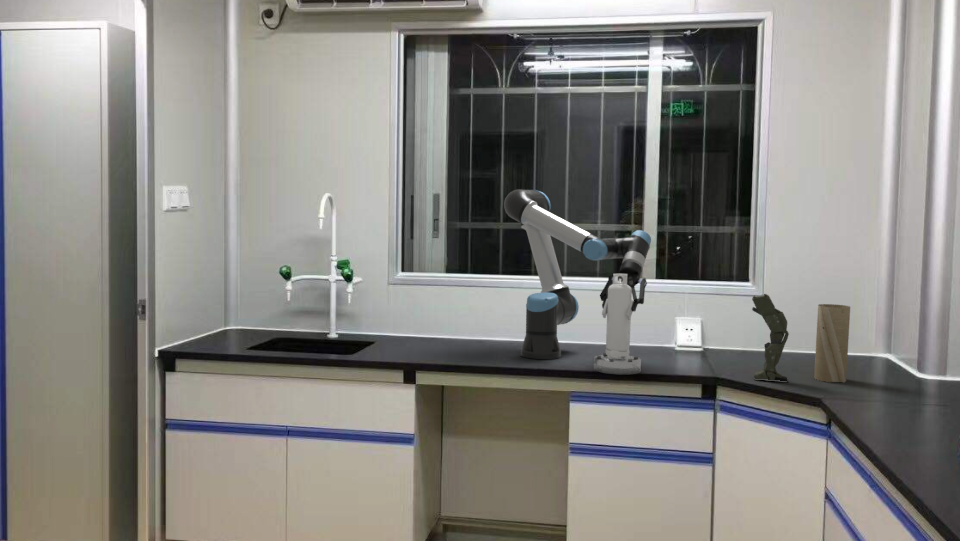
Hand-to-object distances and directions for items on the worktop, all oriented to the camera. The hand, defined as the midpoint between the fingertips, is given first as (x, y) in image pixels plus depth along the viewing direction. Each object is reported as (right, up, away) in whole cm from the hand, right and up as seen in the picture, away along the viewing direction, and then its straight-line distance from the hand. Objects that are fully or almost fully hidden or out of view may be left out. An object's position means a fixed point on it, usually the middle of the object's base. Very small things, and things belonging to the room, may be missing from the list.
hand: (615, 316), depth 286 cm
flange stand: (+1, -19, +4) cm, 19 cm away
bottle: (+1, -14, +4) cm, 14 cm away
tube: (+72, -21, -4) cm, 75 cm away
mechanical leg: (+50, -21, -7) cm, 54 cm away
